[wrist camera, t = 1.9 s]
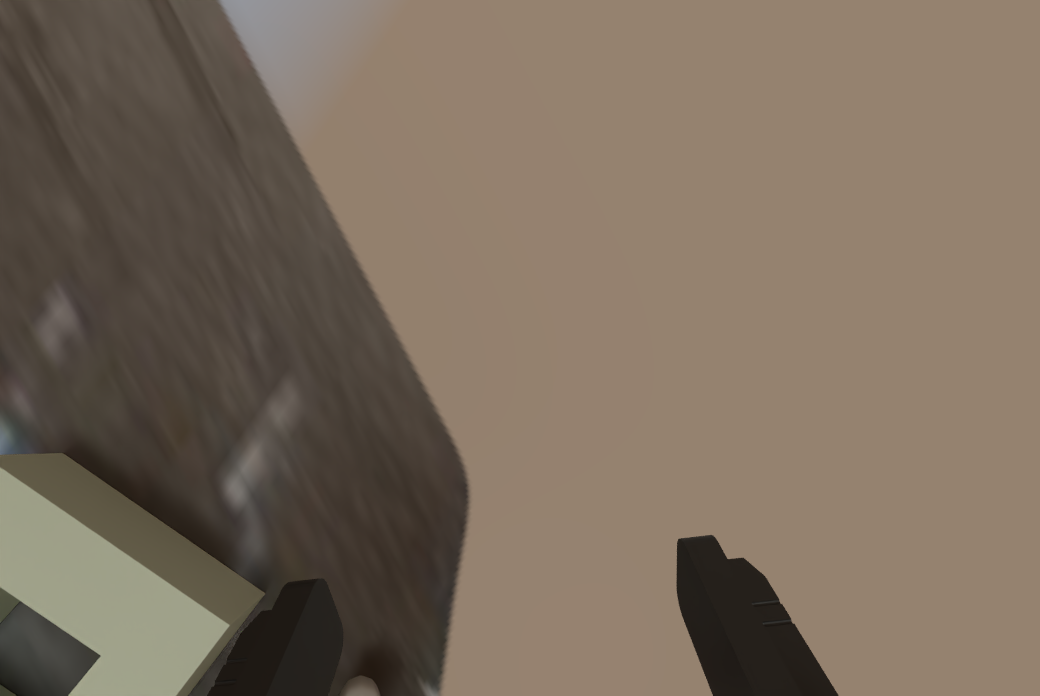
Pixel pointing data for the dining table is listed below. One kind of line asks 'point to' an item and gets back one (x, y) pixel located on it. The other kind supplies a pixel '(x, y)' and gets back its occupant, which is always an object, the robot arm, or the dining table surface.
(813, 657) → the robot arm
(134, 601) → the socket block
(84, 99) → the dining table surface
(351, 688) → the bunny figurine
